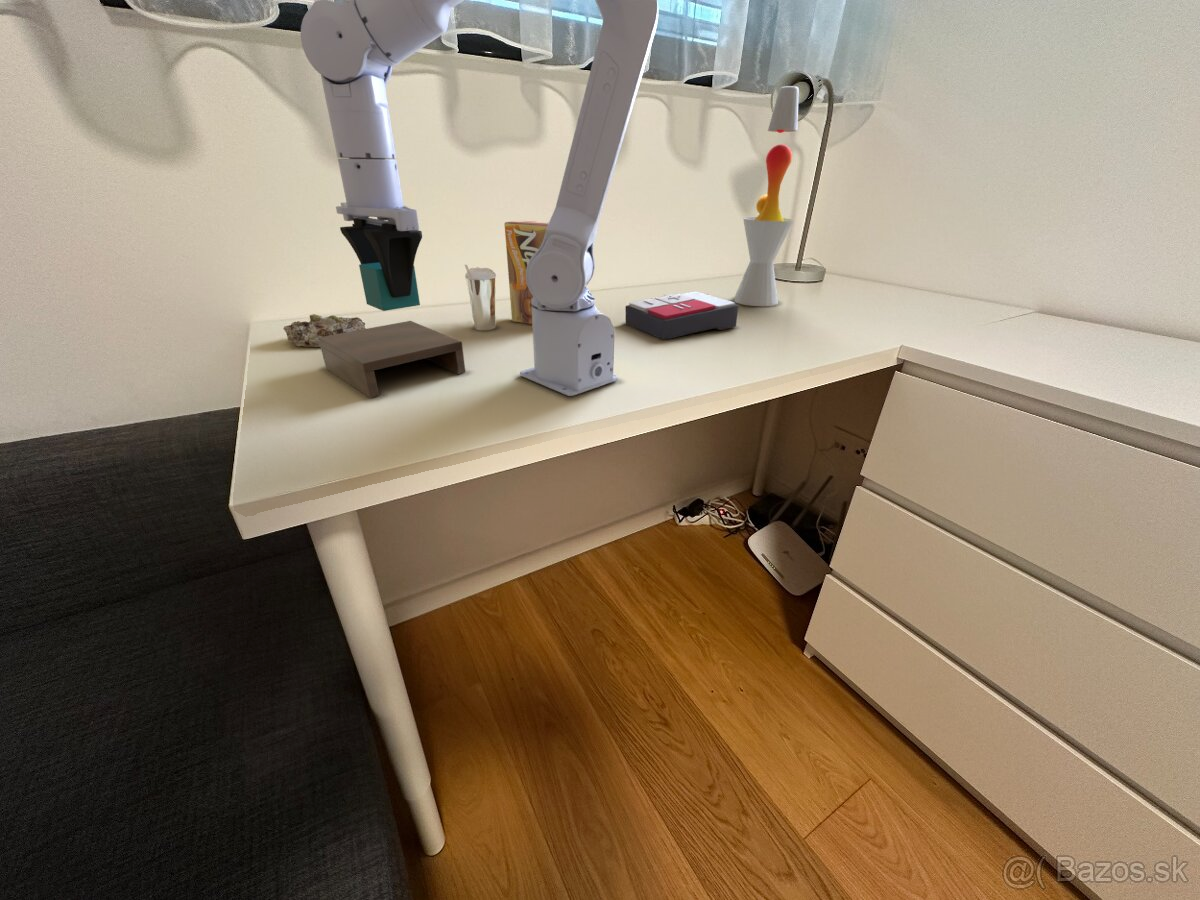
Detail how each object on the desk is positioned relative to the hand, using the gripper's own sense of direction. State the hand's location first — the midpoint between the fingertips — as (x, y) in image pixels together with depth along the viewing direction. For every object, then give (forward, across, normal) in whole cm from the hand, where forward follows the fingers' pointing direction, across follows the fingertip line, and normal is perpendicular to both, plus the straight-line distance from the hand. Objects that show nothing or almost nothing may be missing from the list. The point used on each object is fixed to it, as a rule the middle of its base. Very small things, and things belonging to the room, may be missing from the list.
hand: (391, 292), depth 60 cm
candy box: (+10, -6, +27) cm, 29 cm away
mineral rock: (+10, -19, -2) cm, 22 cm away
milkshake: (+10, -9, +18) cm, 22 cm away
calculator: (+10, +11, +43) cm, 45 cm away
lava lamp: (+10, +10, +69) cm, 70 cm away
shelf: (+9, 0, -1) cm, 9 cm away
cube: (+1, 0, 0) cm, 1 cm away
